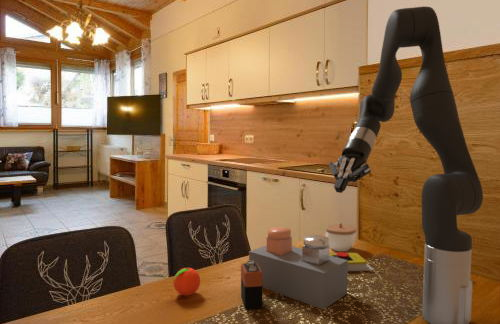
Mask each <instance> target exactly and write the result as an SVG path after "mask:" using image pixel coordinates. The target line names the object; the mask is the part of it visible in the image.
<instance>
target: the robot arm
mask: <svg viewBox="0 0 500 324" xmlns="http://www.w3.org/2000/svg"><path fill="white" fill-rule="evenodd" d="M438 18H439V17H438V15H437V12H436V11H435V10H434V8H433V7H431V6H418V7H416V6H414V7H405V8H399V9H395V10H394V11H392V12H391V14H390V15H389V17H388V19H387V21H386V26H385V29H384V35H383V41H382V46H381V53H380V60H379V66H378V71H377V74H376V77H375V80H374V82H373V85H372V88H371V94H367V95H365V96H364V97H363V98H362V99H361V102H360V105H359V116H358V120H357V123H356V124H355V127H354V129H353V131H352V132H351V134H349V137H348V139H347V141H346V143H345V145H344V147H343V149H342V152H341V155H340V157H339V158H338V159H337V161H335V162H333V161H330V162H329V163H328V165H329V168H330V171H331V173H332V175H333V177H334V179H335V183H334V186H333V188H334V190H335V192H336V193H340V194H342V193H343V192H344V191H346V189H347V186H348V184H349V183H350V182H352V183H355V182H357V181H359V180H361V179H362V178H363V177H365V176H367V175H369V174H370V173H371V172H372V170H371V168H370V167H371V166H370V165H369V164H368V163H367V161H368V159H369V156H370V155H371V153H372V150H373V148H374V146H375V141H376V139H377V137H378V135H379V133H380V130H381V123H386V122H388V121H390V120H391V119H392V117H393V116H394V113H395V106H396V104H395V102H396V101H395V100H396V94H397V93H398V90H399V88H400V85H401V83H402V80H403V72H402V68H401V66H400V64H399V62H398V60H397V59H398V58H397V52H398V50H400V48H412V47H419V49H420V52H421V66H420V69H419V72H418V74H417V76H416V79H415V81H414V83H413V86H412V88H411V90H410V94H409V103H410V106H411V111H412V117H413V120H414V123H415V125H416V127H417V129H418V131H419V132H420V133H421V135H422V136H423V137H424V138H425V140H426V141H427V142H428V143H429V144H430V146H431V147H432V148H433V149H434V151H435V152H436V154H437V156H438V157H439V160H440V162H441V165H442V169H443V173H440V174H439V173H436V174H432V175H430V176H428V177H427V179H426V180H425V181H424V184H423V186H422V190H421V226H422V227H421V228H422V233H423V235H424V256H423V259H424V261H423V282H422V284H423V285H422V286H423V287H422V307H421V309H422V310H421V313H422V314H421V315H422V316H421V317H422V318H423V319H424V321H426V322H427V323H428V324H470V323H471V320H472V319H471V318H472V315H471V314H472V299H473V280H472V279H471V267H472V266H471V265H472V248H473V247H472V246H473V238H472V236H471V234H470V233H468V232H466V231H464V230H460V229H459V228H458V220H457V219H458V218H457V217H458V216H465V215H466V216H467V215H471V214H474V213H477V212H478V211H479V209H481V207H482V204H483V199H484V194H483V193H484V191H483V186H482V184H481V181H480V178H479V175H478V172H477V170H476V168H475V164H474V163H473V162H474V161H473V159H472V157H471V154H470V151H469V149H468V145H467V142H466V139H465V136H464V132H463V127H462V124H461V122H460V118H459V112H458V109H457V108H458V107H457V104H456V100H455V99H456V98H455V96H454V92H453V88H452V86H451V82H450V78H449V75H448V70H447V65H446V62H445V56H444V50H443V49H444V48H443V42H442V35H441V30H440V23H439V19H438ZM338 170H339V172H338Z"/></svg>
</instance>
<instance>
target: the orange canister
mask: <svg viewBox="0 0 500 324" xmlns="http://www.w3.org/2000/svg"><path fill="white" fill-rule="evenodd" d="M291 232H292V230H291V229H290V228H287V227H284V226H283V227H281V226H280V227H279V226H275V227H274V226H273V227H270V228H268V229H267V237H266V245H267V252H270V253H273V254H277V255H284V254H286V253H289V252H291V251H292V246H293V245H292V244H293V239H292V238H293V236H292V233H291Z"/></svg>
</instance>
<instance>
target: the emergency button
mask: <svg viewBox="0 0 500 324" xmlns="http://www.w3.org/2000/svg"><path fill="white" fill-rule="evenodd" d="M329 256H333V257H337V258H341V259H345V260H348V272H359V271H360V272H363V271H364V272H365V271H367V272H369V271H374V268H373V267H372V266H370V265H369V264H368V263H367V260H366V259H365V258H364V257H362V256H361V255H360V254H359V253H357V252H345V251H338V252H335V253H334V252H333V253H332V252H331V253H330V252H329Z"/></svg>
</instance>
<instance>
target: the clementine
mask: <svg viewBox="0 0 500 324" xmlns="http://www.w3.org/2000/svg"><path fill="white" fill-rule="evenodd" d="M172 283H173V287H174V289H175V291H176V292H177V293H178V294H179V295H182V296H191V295H193V294H195V293H196V292H197V291H198V290H199V288H200V286H201V285H200V284H201V277H200V275H199V273H198V271H197V270H196V269H194V268H192V267H182V268H180V270H178V271H177V273H176V274H175V276H174V277H173V281H172Z"/></svg>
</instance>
